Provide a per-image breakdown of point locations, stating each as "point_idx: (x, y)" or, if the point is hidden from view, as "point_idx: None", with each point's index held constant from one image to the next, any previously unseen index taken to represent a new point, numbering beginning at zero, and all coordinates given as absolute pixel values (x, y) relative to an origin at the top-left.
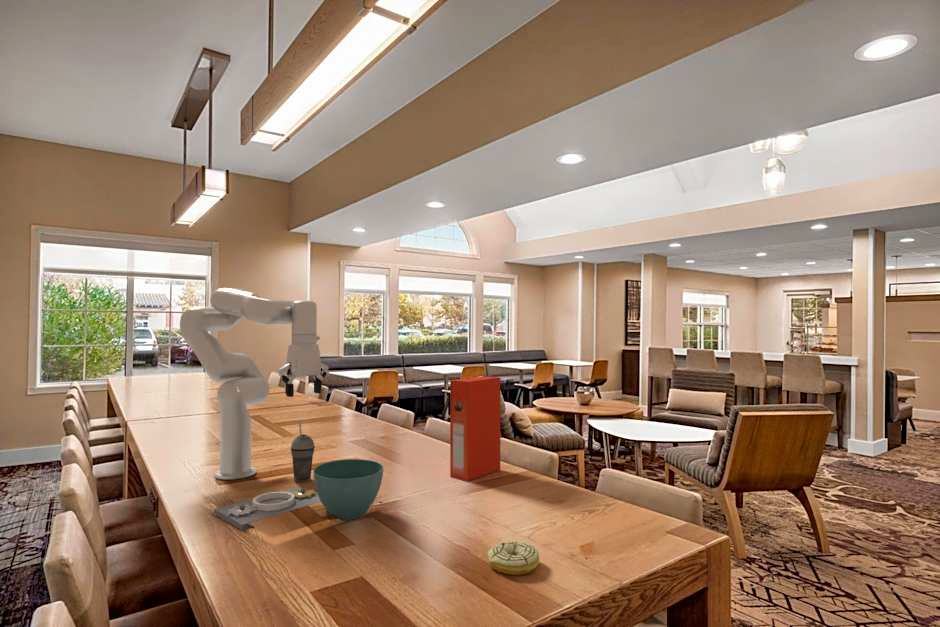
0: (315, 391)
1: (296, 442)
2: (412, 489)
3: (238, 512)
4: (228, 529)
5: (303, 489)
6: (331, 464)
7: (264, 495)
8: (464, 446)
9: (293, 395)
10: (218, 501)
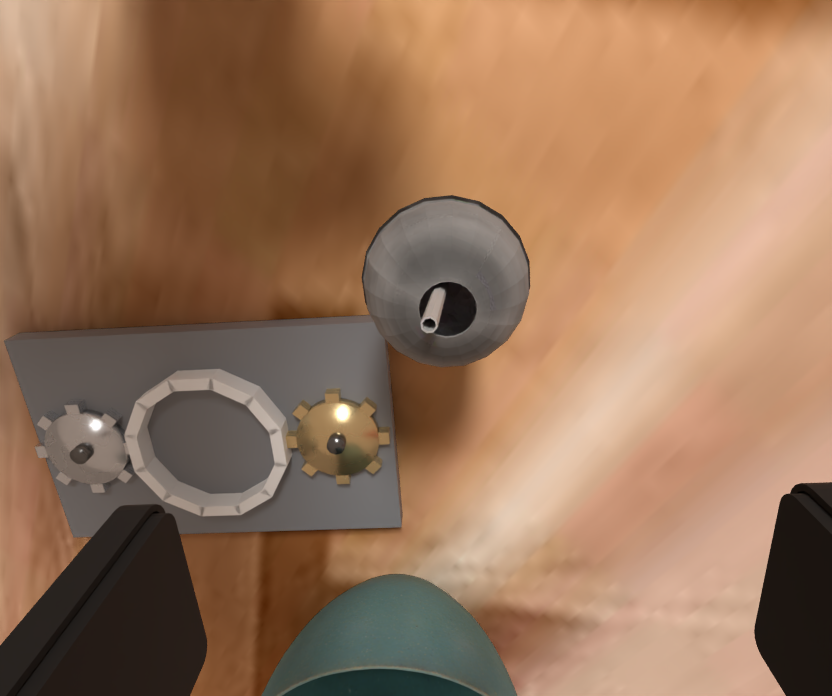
0: (792, 557)
1: (379, 323)
2: (715, 582)
3: (68, 469)
4: (49, 488)
5: (340, 443)
6: (384, 658)
7: (187, 389)
8: None
9: (201, 667)
10: (51, 188)
